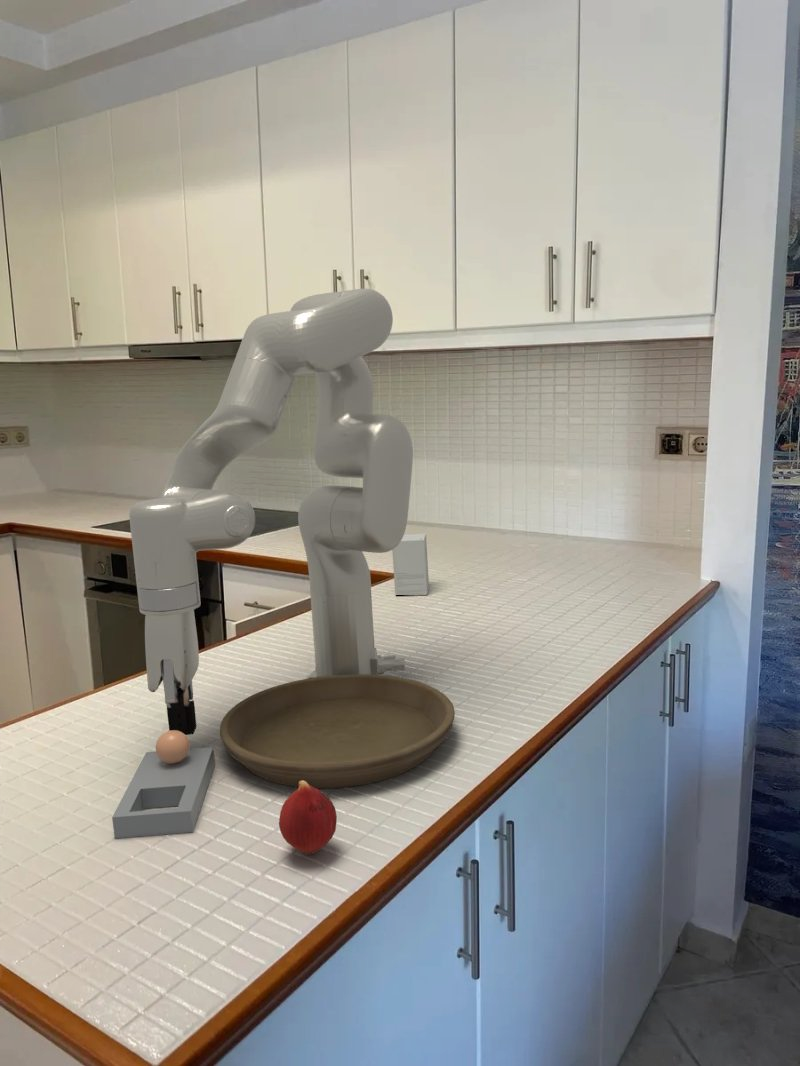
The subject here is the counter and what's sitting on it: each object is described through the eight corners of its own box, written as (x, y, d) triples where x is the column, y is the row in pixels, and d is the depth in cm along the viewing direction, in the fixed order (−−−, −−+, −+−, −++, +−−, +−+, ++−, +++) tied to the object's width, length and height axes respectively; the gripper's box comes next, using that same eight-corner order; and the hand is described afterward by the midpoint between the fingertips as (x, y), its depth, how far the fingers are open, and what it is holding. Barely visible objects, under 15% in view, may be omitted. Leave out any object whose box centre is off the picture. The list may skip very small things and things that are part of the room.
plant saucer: (336, 684, 133) (334, 657, 132) (500, 728, 114) (499, 697, 113) (174, 758, 110) (170, 725, 109) (345, 829, 90) (343, 790, 89)
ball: (193, 753, 104) (190, 723, 104) (187, 768, 101) (184, 737, 100) (161, 756, 104) (158, 726, 103) (154, 770, 100) (150, 739, 100)
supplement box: (429, 587, 190) (427, 533, 188) (427, 595, 183) (425, 539, 180) (397, 588, 191) (394, 534, 189) (394, 596, 184) (391, 540, 181)
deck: (215, 765, 106) (213, 747, 106) (193, 832, 91) (190, 811, 90) (148, 770, 106) (146, 752, 106) (114, 838, 90) (112, 817, 90)
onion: (339, 836, 89) (335, 766, 87) (337, 867, 83) (332, 793, 81) (285, 839, 88) (279, 769, 87) (279, 871, 83) (272, 796, 81)
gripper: (152, 584, 112) (166, 712, 116) (123, 614, 98) (140, 760, 101) (208, 580, 113) (220, 708, 116) (188, 610, 98) (202, 755, 102)
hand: (183, 732), depth 109 cm, fingers closed
